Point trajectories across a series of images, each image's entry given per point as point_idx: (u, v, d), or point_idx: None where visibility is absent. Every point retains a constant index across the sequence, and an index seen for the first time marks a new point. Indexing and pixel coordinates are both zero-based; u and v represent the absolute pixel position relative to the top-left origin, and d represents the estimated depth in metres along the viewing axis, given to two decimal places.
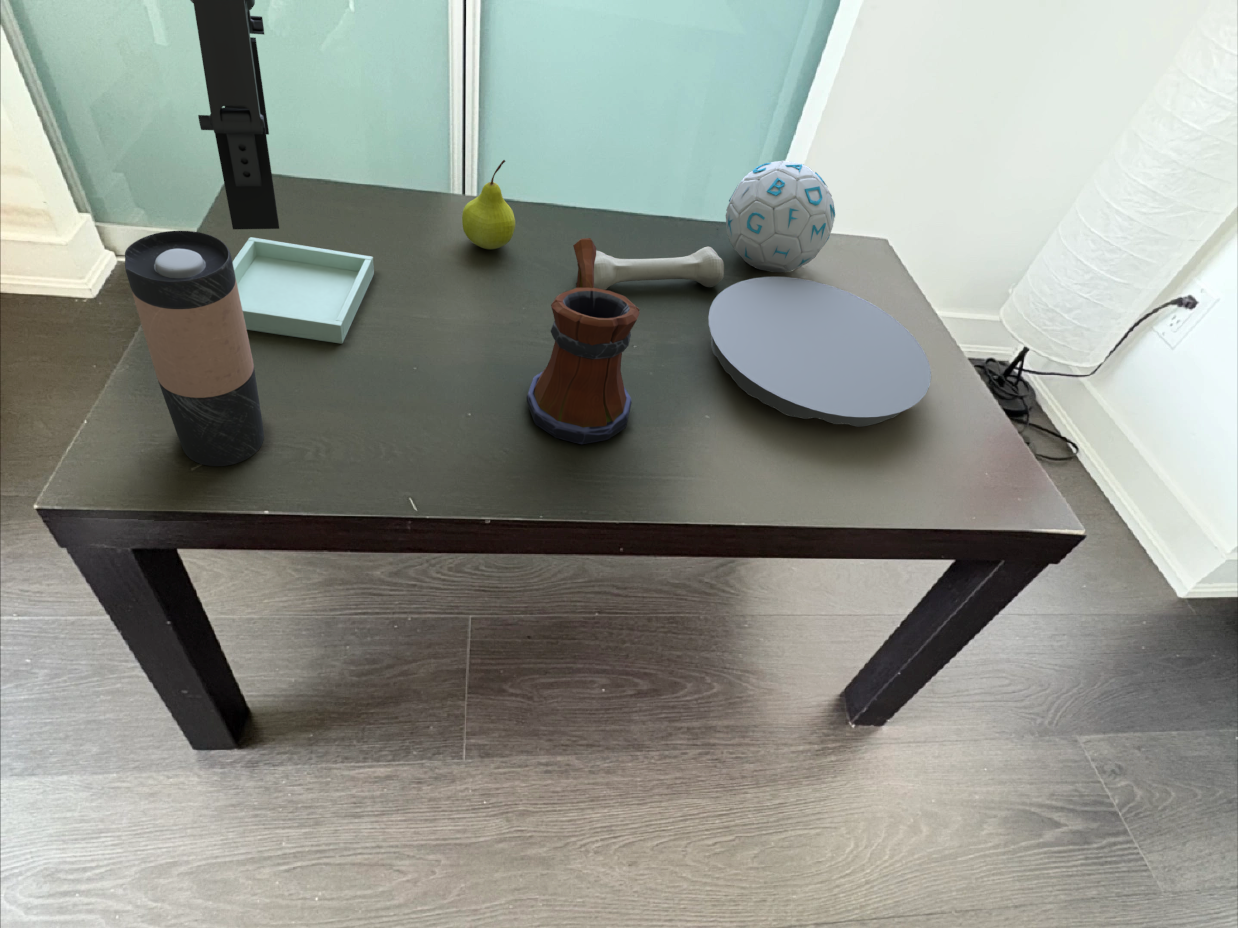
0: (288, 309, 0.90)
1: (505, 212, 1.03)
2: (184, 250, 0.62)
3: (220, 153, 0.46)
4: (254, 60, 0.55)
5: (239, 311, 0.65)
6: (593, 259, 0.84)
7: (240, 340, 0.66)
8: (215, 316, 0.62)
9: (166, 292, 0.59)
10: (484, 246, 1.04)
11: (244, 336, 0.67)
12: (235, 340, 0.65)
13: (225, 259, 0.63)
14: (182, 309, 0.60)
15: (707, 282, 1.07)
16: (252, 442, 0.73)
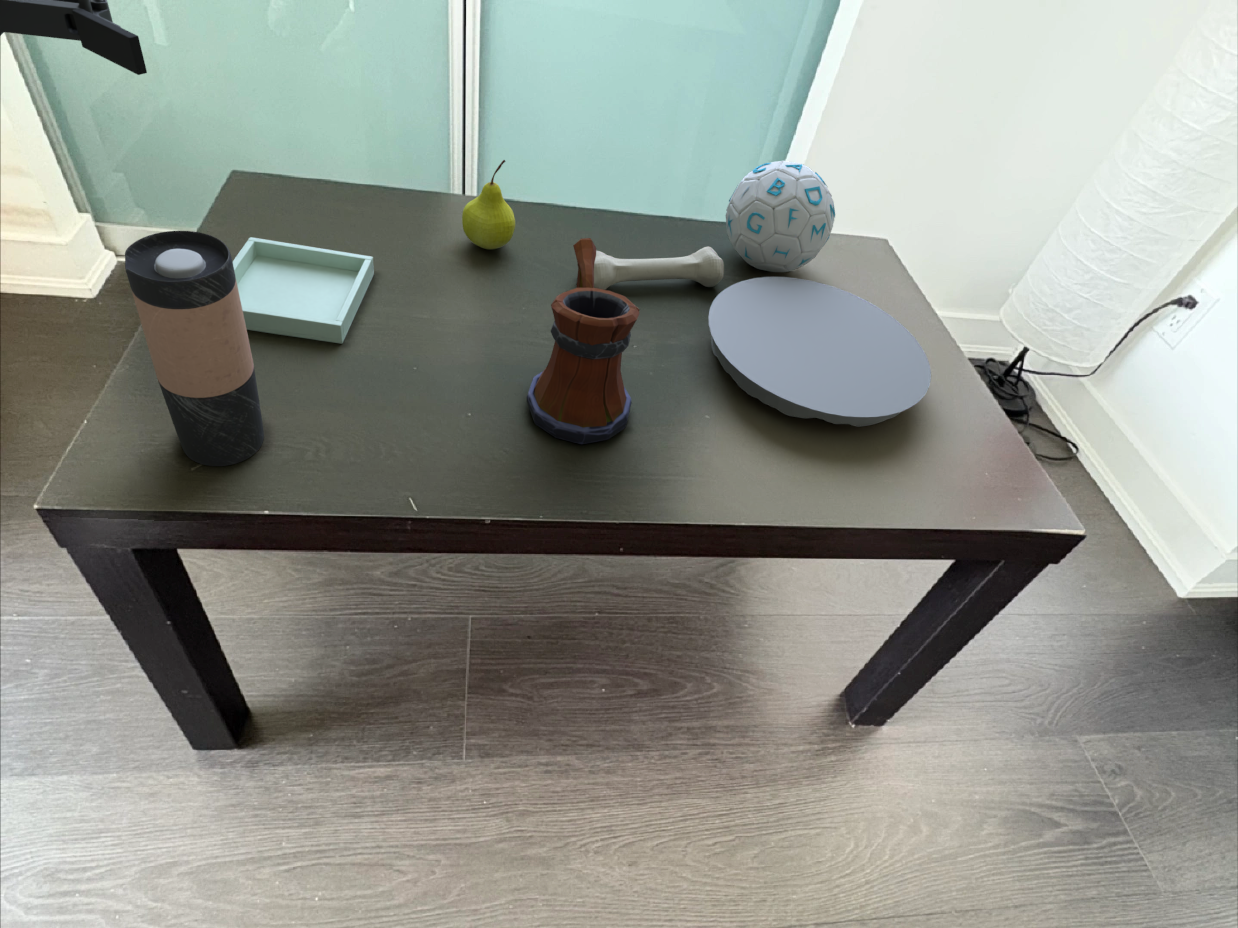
0: (288, 309, 0.90)
1: (505, 212, 1.03)
2: (184, 250, 0.62)
3: None
4: None
5: (239, 311, 0.65)
6: (593, 259, 0.84)
7: (240, 340, 0.66)
8: (215, 316, 0.62)
9: (166, 292, 0.59)
10: (484, 246, 1.04)
11: (244, 336, 0.67)
12: (235, 340, 0.65)
13: (225, 259, 0.63)
14: (183, 309, 0.60)
15: (707, 282, 1.07)
16: (252, 442, 0.73)
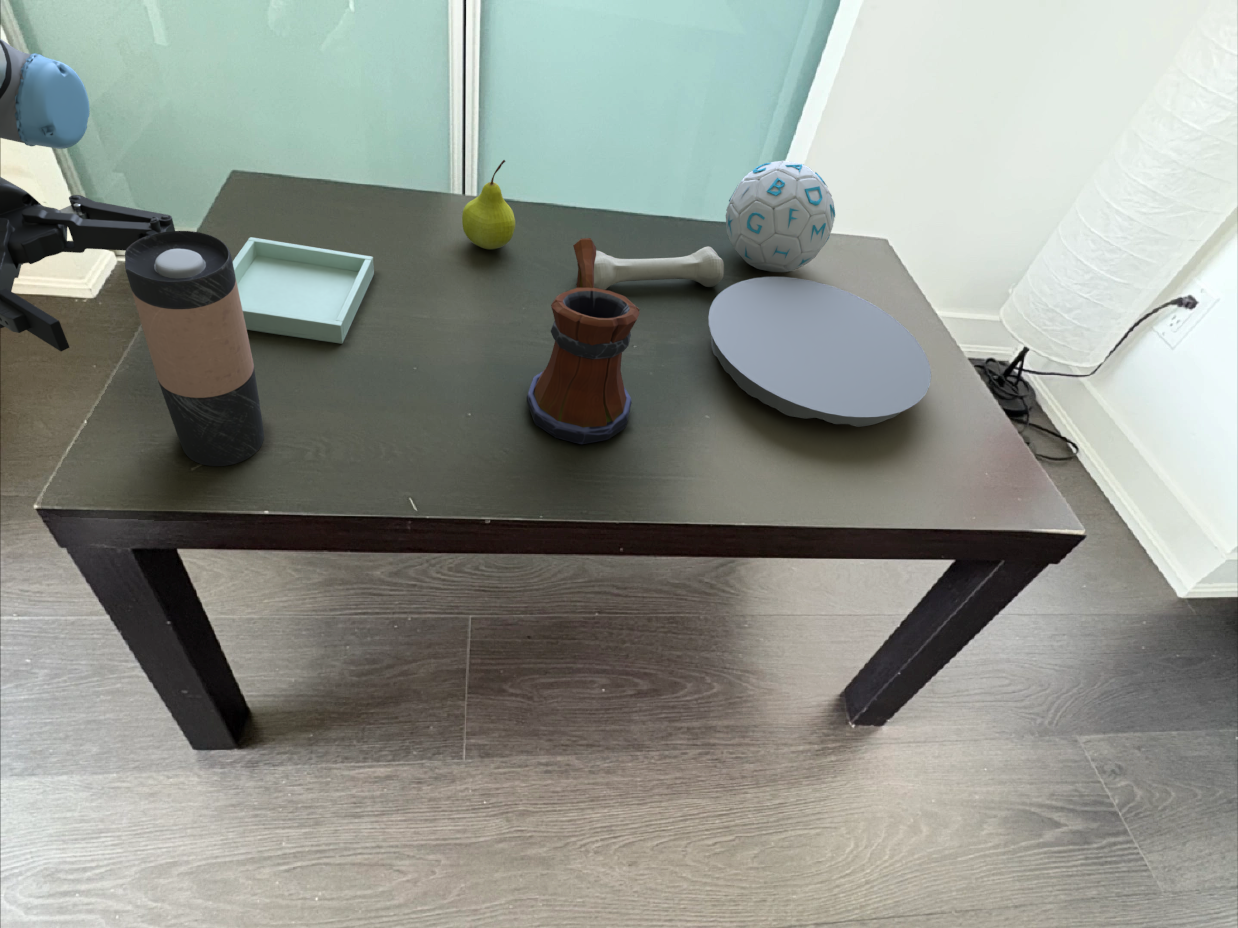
0: (288, 309, 0.90)
1: (505, 212, 1.03)
2: (184, 250, 0.62)
3: None
4: None
5: (239, 311, 0.65)
6: (593, 259, 0.84)
7: (240, 340, 0.66)
8: (215, 316, 0.62)
9: (166, 292, 0.59)
10: (484, 246, 1.04)
11: (244, 336, 0.67)
12: (235, 340, 0.65)
13: (225, 259, 0.63)
14: (183, 309, 0.60)
15: (707, 282, 1.07)
16: (252, 442, 0.73)
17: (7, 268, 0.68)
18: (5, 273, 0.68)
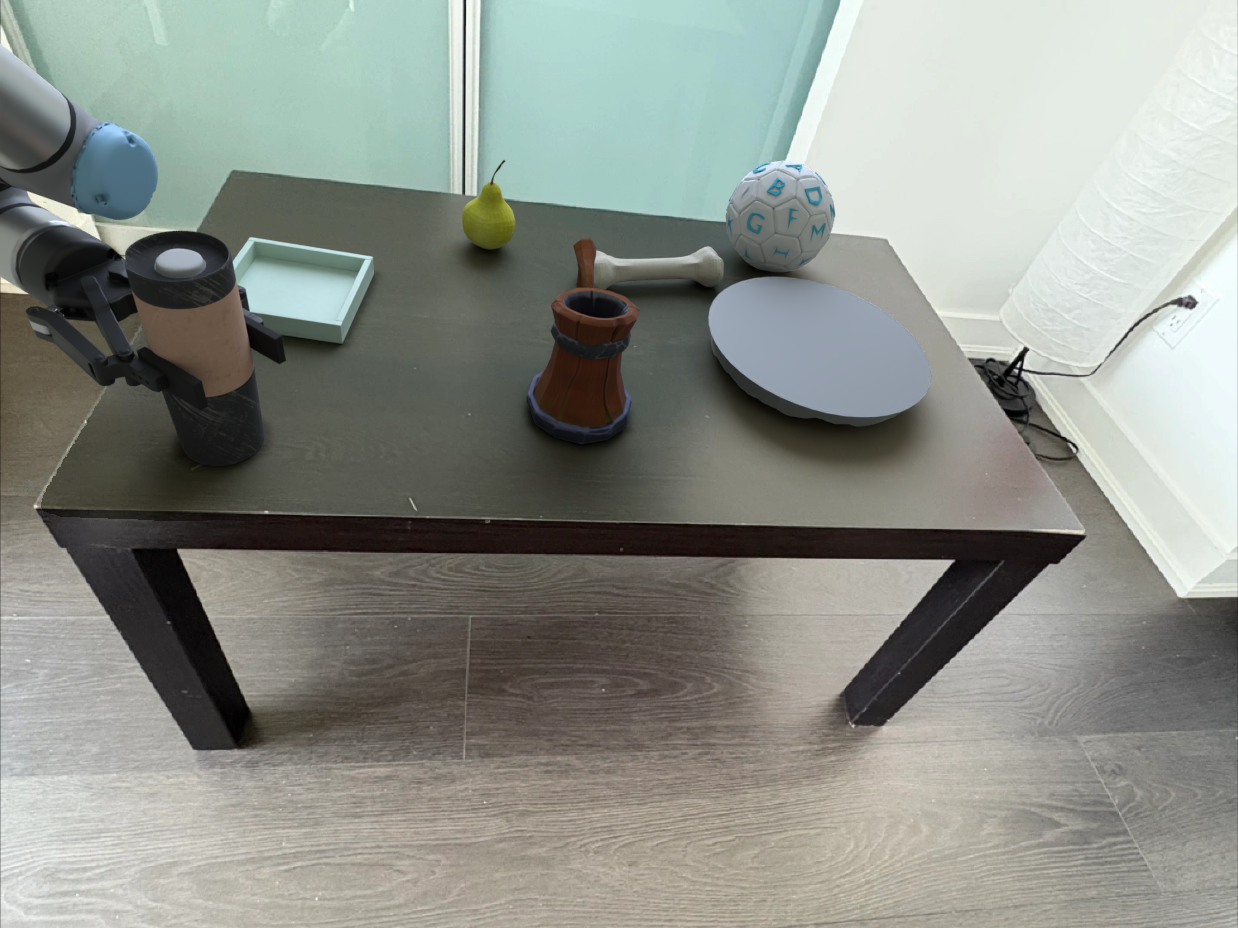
0: (288, 309, 0.90)
1: (505, 212, 1.03)
2: (184, 250, 0.62)
3: None
4: None
5: (239, 311, 0.65)
6: (593, 259, 0.84)
7: (240, 340, 0.66)
8: (215, 316, 0.62)
9: (167, 292, 0.59)
10: (484, 246, 1.04)
11: (244, 336, 0.67)
12: (236, 340, 0.65)
13: (226, 259, 0.63)
14: (183, 309, 0.60)
15: (707, 282, 1.07)
16: (252, 442, 0.73)
17: None
18: None
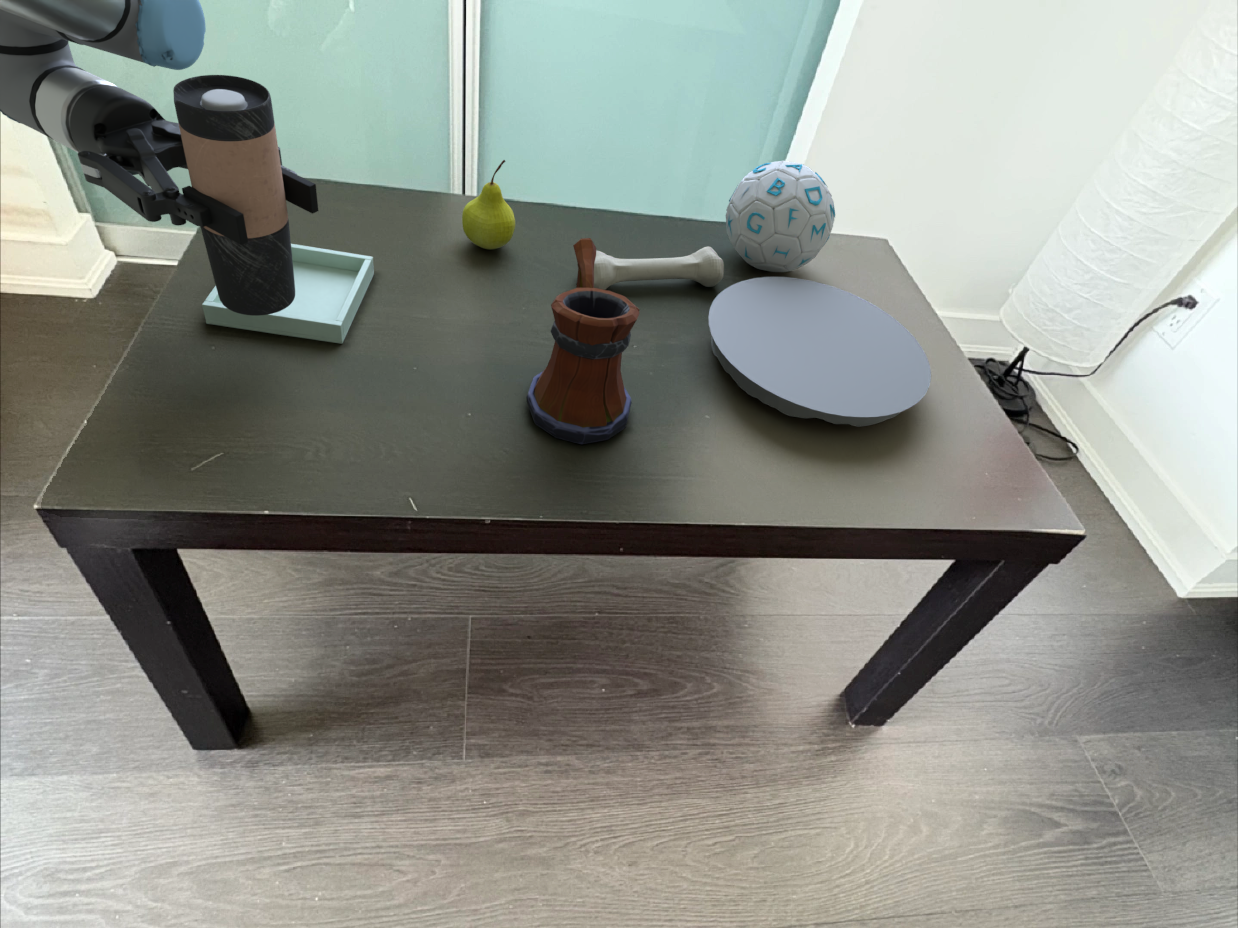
0: (288, 309, 0.90)
1: (505, 212, 1.03)
2: (227, 90, 0.67)
3: None
4: None
5: (277, 154, 0.70)
6: (593, 259, 0.84)
7: (277, 184, 0.71)
8: (256, 152, 0.67)
9: (213, 122, 0.64)
10: (484, 246, 1.04)
11: (281, 181, 0.71)
12: (273, 182, 0.70)
13: None
14: (227, 141, 0.65)
15: (707, 282, 1.07)
16: (285, 294, 0.78)
17: None
18: None
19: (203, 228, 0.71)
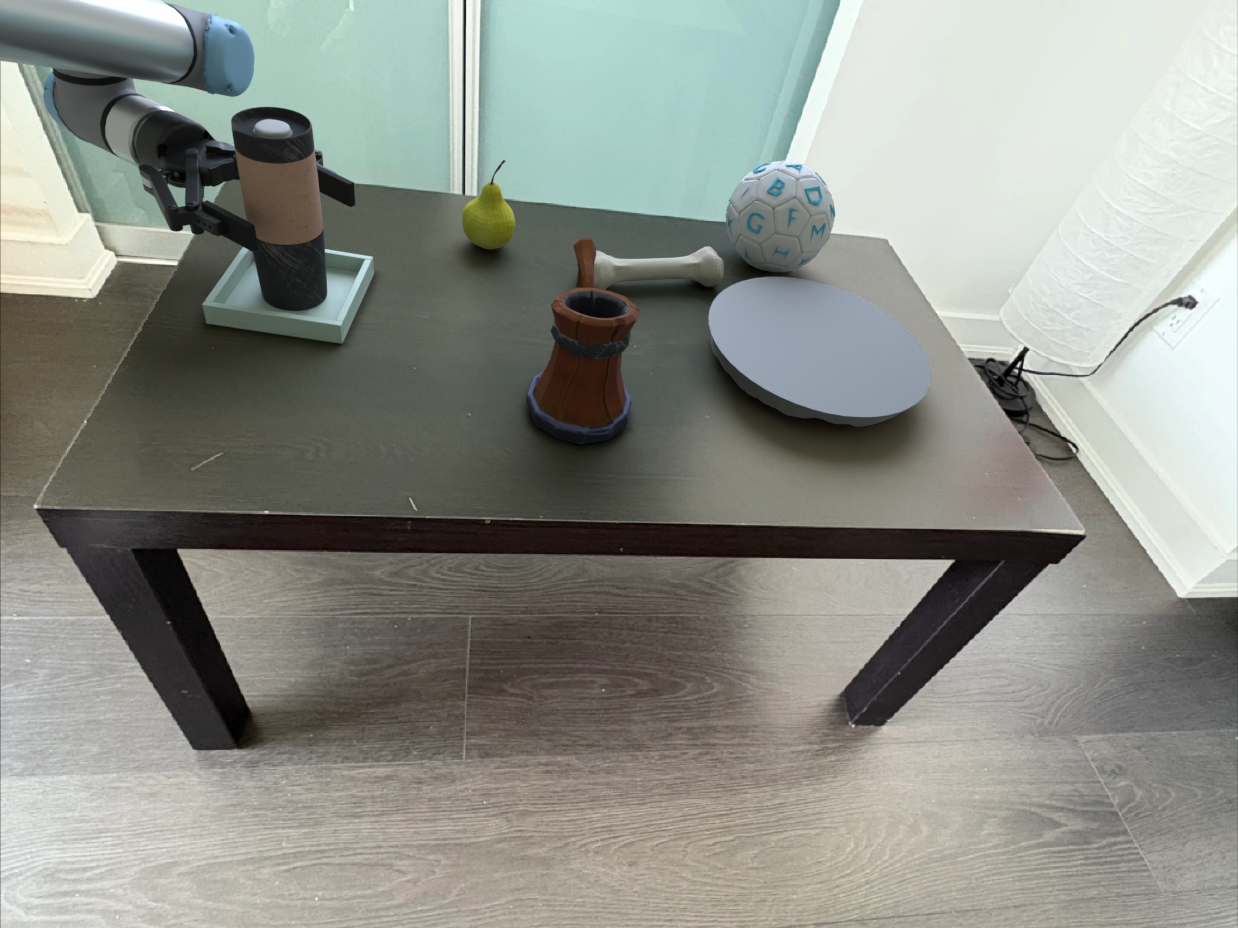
0: None
1: (505, 212, 1.03)
2: (275, 120, 0.79)
3: (320, 166, 0.88)
4: None
5: (316, 173, 0.82)
6: (593, 259, 0.84)
7: (315, 198, 0.83)
8: (299, 172, 0.79)
9: (265, 148, 0.76)
10: (484, 246, 1.04)
11: (318, 196, 0.84)
12: (313, 197, 0.82)
13: (307, 129, 0.80)
14: (276, 163, 0.77)
15: (707, 282, 1.07)
16: (320, 292, 0.90)
17: (200, 187, 0.83)
18: (200, 191, 0.82)
19: None
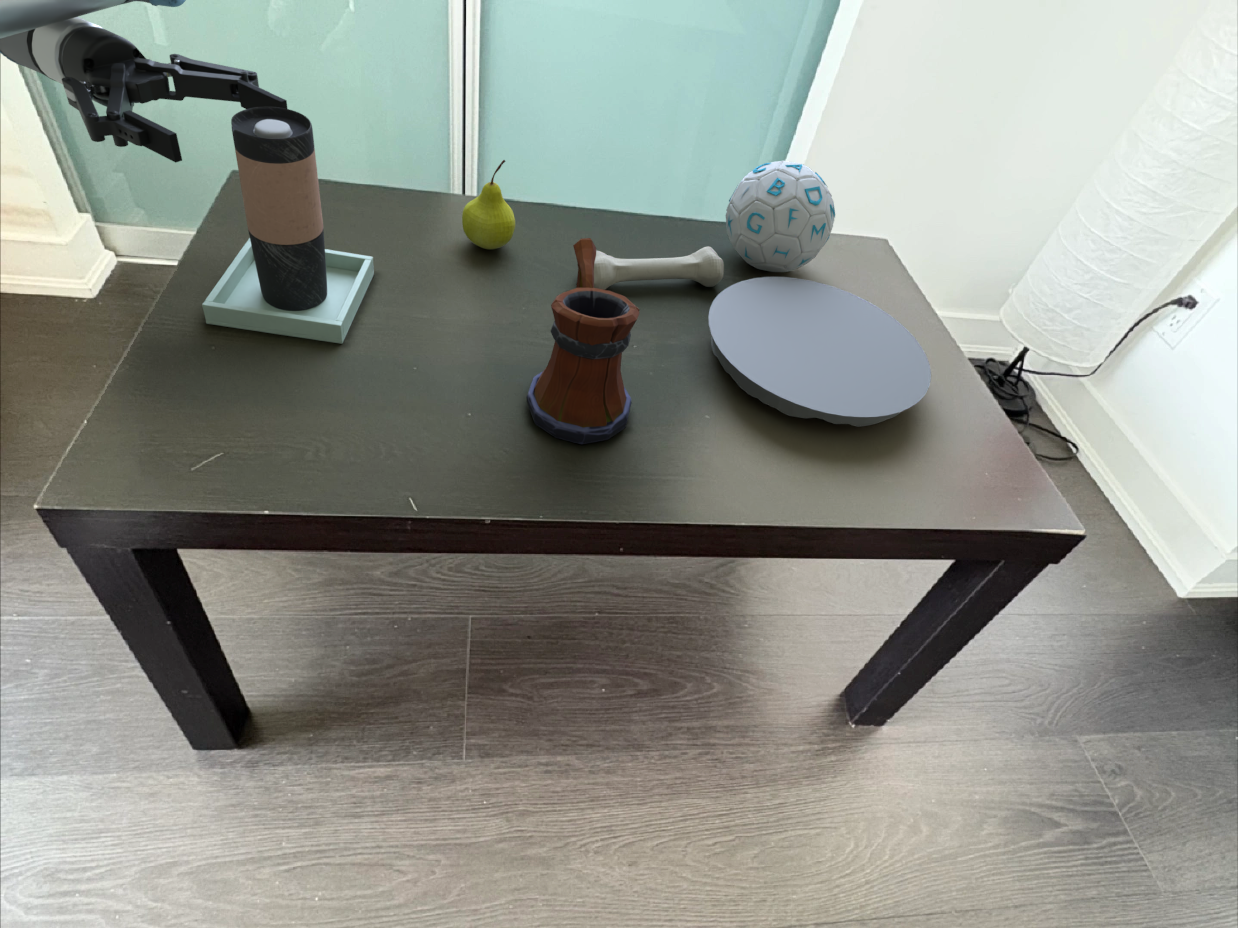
0: None
1: (505, 212, 1.03)
2: (275, 120, 0.79)
3: (253, 85, 0.86)
4: None
5: (316, 173, 0.82)
6: (593, 259, 0.84)
7: (316, 198, 0.83)
8: (300, 172, 0.79)
9: (265, 148, 0.76)
10: (484, 246, 1.04)
11: (318, 196, 0.84)
12: (313, 197, 0.82)
13: (307, 129, 0.80)
14: (276, 163, 0.77)
15: (707, 282, 1.07)
16: (320, 292, 0.90)
17: (126, 101, 0.81)
18: (125, 104, 0.80)
19: (252, 236, 0.84)
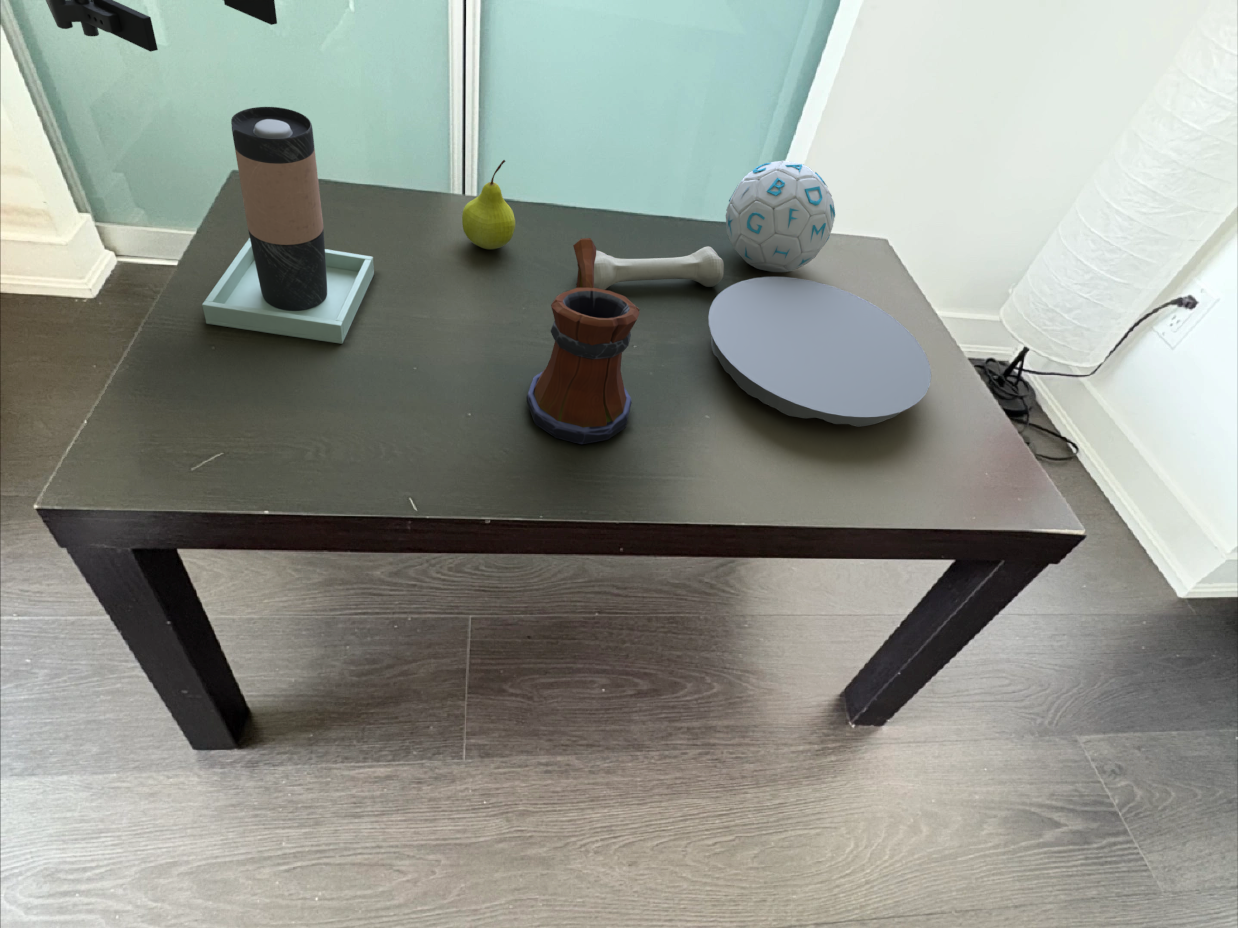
0: None
1: (505, 212, 1.03)
2: (275, 120, 0.79)
3: None
4: None
5: (316, 173, 0.82)
6: (593, 259, 0.84)
7: (316, 198, 0.83)
8: (300, 172, 0.79)
9: (265, 148, 0.76)
10: (484, 246, 1.04)
11: (318, 196, 0.84)
12: (313, 197, 0.82)
13: (307, 129, 0.80)
14: (276, 163, 0.77)
15: (707, 282, 1.07)
16: (320, 292, 0.90)
17: None
18: None
19: (252, 236, 0.84)
